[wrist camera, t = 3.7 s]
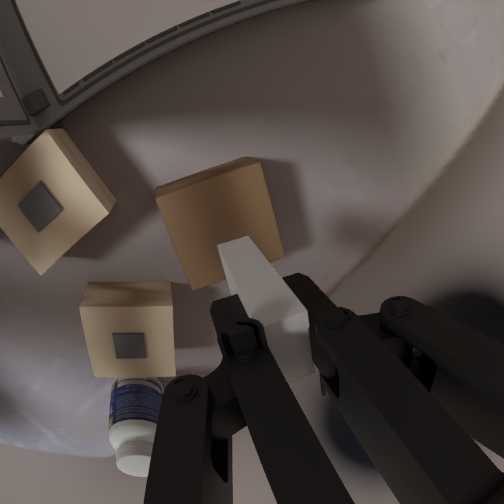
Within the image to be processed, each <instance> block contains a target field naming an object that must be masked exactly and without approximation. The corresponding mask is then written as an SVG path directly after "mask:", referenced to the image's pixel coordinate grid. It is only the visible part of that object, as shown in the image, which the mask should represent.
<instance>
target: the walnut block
mask: <svg viewBox="0 0 504 504" xmlns="http://www.w3.org/2000/svg"><path fill="white" fill-rule="evenodd" d="M155 199H156V202H157V205H158V207H159V210H160V213H161V215H162V218H163V220H164V223H165V226H166V228H167V231H168V233H169V236H170V238H171V241H172V243H173V246H174V248H175V251H176V253H177V256H178V258H179V260H180V263H181V265H182V268H183V270H184V272H185V275H186V277H187V280H188V282H189V284H190V287H191V289H192V291H194V290H197V289H199V288H202V287H205V286H207V285H210V284H213V283H216V282H218V281H221V280H224V279H226V276H225V272H224V268H223V265H222V261H221V258H220V254H219V250H218V247H217V245H219V244H222V243H225V242H229V241H232V240H235V239H239V238H242V237H245V236H249V237H250V239H251V240H252V241H253V242H254V244H255V245H256V246H257V248H258V249H259V250H260V251H261V253H262V254H263V255H264V256H265V258H266V259H267V260H268V261H269V262H271V261H274V260H276V259H279V258H282V257H284V256H285V255H284V251H283V247H282V243H281V239H280V235H279V231H278V228H277V224H276V220H275V216H274V212H273V208H272V204H271V201H270V197H269V193H268V189H267V186H266V182H265V178H264V174H263V171H262V167H261V163H260V162H258V161H256V160H253V159H251V158H248V157H243V158H240V159H237V160H234V161H231V162H227V163H224V164H221V165H218V166H215V167H212V168H210V169H207V170H204V171H201V172H198V173H195V174H192V175H189V176H187V177H184V178H181V179H178V180H176V181H173V182H170V183H168V184H165V185H162V186H160V187H157V188H156V196H155Z"/></svg>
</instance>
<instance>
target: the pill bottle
mask: <svg viewBox="0 0 504 504" xmlns="http://www.w3.org/2000/svg"><path fill="white" fill-rule="evenodd" d="M163 392H164V391H163V386H162V384H161V382H160V381H159V380H158V379H157V378H156V377H143V378H115V379H114V381H113V383H112V389H111V400H110V413H109V432H108V434H109V441H110V443H111V445H112V447H113V448H114V449H115V450H116V463H117V467H118V468H119V469H120V470H121V471H122V472H124V473H127V474H129V475H132V476H139V477H148V472H149V465H150V460H151V454H152V448H153V442H154V437H155V431H156V426H157V421H158V416H159V410H160V405H161V400H162V395H163Z"/></svg>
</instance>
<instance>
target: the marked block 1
mask: <svg viewBox="0 0 504 504" xmlns="http://www.w3.org/2000/svg"><path fill="white" fill-rule="evenodd" d="M116 201H117V200H116V198H115V197H114V196H113V194H112V193H111V192H110V191H109V189H108V188H107V187H106V185H105V184H104V183H103V182H102V180H101V179H100V178H99V176H98V175H97V174H96V172H95V171H94V170H93V168H92V167H91V166H90V164H89V163H88V162H87V160H86V159H85V158H84V156H83V155H82V154H81V152H80V151H79V149H78V148H77V147H76V145H75V144H74V143H73V141H72V140H71V138H70V137H69V136H68V134H67V133H66V131H65V130H64V129H63V128H62V129H46V130H45V131H44V132H43V133H42V134H41V135H40V136H39V137H38V138H37V139H36V140H35V141H34V142H33V143H32V144H31V145H30V146H29V147H28V148H27V149H26V150H25V151H24V152H23V153H22V155H21V156H20V157H19V158H18V159H17V160H16V161H15V162H14V163H13V164H12V166H11V167H10V168H9V169H8V170H7V171H6V172H5V174H4V175H3V176H2V177H1V178H0V227H1V229H2V230H3V231H4V232H5V234H6V235H7V236H8V238H9V239H10V240H11V241H12V243H13V244H14V245H15V246H16V247H17V249H18V250H19V251H20V252H21V253H22V255H23V256H24V257H25V258H26V259H27V261H28V262H29V263H30V264H31V265H32V266H33V268H34V269H35V270H36V271H37V272H38V273H39V274H40V275H42V274H43V273H44V272H45V271H46V270H48V269H49V268H50V267H51V266H52V265H53V264H54V263H55V262H56V261H57V260H58V259H59V258H60V257H61V256H62V255H63V254H64V253H65V252H66V251H67V250H68V249H70V248H71V247H72V246H73V245H74V244H75V243H76V242H77V241H78V240H79V239H80V238H82V237H83V236H84V235H85V234H86V233H87V232H88V231H89V230H91V229H92V228H93V227H94V226H95V225H96V224H97V223H99V222H100V221H101V220H102V219H103V218H104V217H106V216H107V215H108V214H109V213H110V211H111V209H112V208H113V206H114V204H115V203H116Z"/></svg>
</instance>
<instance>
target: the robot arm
mask: <svg viewBox="0 0 504 504" xmlns="http://www.w3.org/2000/svg"><path fill="white" fill-rule="evenodd" d="M217 247H218V250H219V254H220V258H221V261H222V265H223V268H224V272H225V276H226V279H227V283H228V286H229V290H230V293H231V296H229V297H225V298H222V299H219V300H216V301H213V302H212V305H211V308H210V313H211V316H212V320H213V323H214V326H215V329H216V333H217V341H218V344H219V346H220V349H221V352H222V355H223V358H222V361H221V363H220V365H219V366H218V367H217V369H216V370H214V371H213V372H212V373H210V374H209V375H207V376H205V377H204V378H202V377H200V376H197V375H184V376H180V377H178V378H176V379H174V380H172V381H171V382H170V383H169V384H168V385H167V386H166V388H165V390H164V392H163V395H162V400H161V405H160V410H159V416H158V421H157V426H156V431H155V437H154V442H153V448H152V454H151V460H150V465H149V472H148V478H147V484H146V491H145V497H144V504H233V484H232V435H233V434H235V433H236V432H238V431H239V430H241V429H242V428H244V427H246V426H248V429H249V432H250V435H251V437H252V440H253V443H254V445H255V448H256V450H257V453H258V456H259V458H260V461H261V464H262V466H263V469H264V471H265V474H266V477H267V479H268V481H269V484H270V486H271V489H272V492H273V494H274V496H275V499H276V501H277V504H355V503H354V502H353V500H352V498H351V497H350V495H349V493H348V491H347V490H346V488H345V486H344V484H343V483H342V481H341V479H340V477H339V476H338V474H337V472H336V470H335V468H334V467H333V465H332V463H331V461H330V460H329V458H328V456H327V454H326V452H325V451H324V449H323V447H322V445H321V443H320V442H319V440H318V438H317V436H316V435H315V433H314V431H313V429H312V427H311V425H310V424H309V422H308V420H307V418H306V416H305V414H304V413H303V411H302V409H301V407H300V405H299V403H298V402H297V400H296V398H295V396H294V394H293V392H292V390H291V388H290V387H289V385H288V383H289V382H292V381H294V380H297V379H299V378H302V377H305V376H307V375H310V374H312V373H314V372H315V370H314V363H315V365H316V366H317V368H318V369H319V372H320V382H321V392H322V395H323V396H325V395H326V391H325V389H326V390H327V392H328V393H329V395H330V397H331V398H332V400H333V401H334V403H335V405H336V406H337V407H338V409H339V411H340V412H341V414H342V415H343V417H344V419H345V420H346V422H347V423H348V425H349V426H350V428H351V429H352V431H353V432H354V434H355V436H356V437H357V439H358V440H359V442H360V443H361V445H362V446H363V448H364V449H365V451H366V452H367V454H368V455H369V457H370V459H371V460H372V462H373V463H374V465H375V466H376V468H377V469H378V471H379V473H380V474H381V476H382V477H383V479H384V480H385V482H386V483H387V485H388V486H389V488H390V489H391V491H392V492H393V493H394V495H395V497H396V498H397V500H398V501H399V503H400V504H504V473H503V472H501V471H500V470H499V469H498V468H497V467H496V466H495V465H494V463H493V462H492V461H491V460H490V459H489V458H488V456H486V454H485V453H484V452H483V451H482V450H481V448H480V447H479V446H478V445H477V444H476V443H475V442H474V440H473V439H475V440H476V441H478V442H480V443H481V444H482V445H484V446H485V447H487V448H488V449H490V450H492V451H493V452H495V453H496V454H497V455H499V456H501V457H502V458H504V345H502V344H500V343H499V342H497V341H495V340H493V339H491V338H489V337H487V336H485V335H483V334H481V333H479V332H477V331H475V330H474V329H471V328H470V327H468V326H465V325H464V324H462V323H460V322H458V321H456V320H454V319H452V318H450V317H448V316H446V315H444V314H442V313H440V312H438V311H436V310H434V309H432V308H430V307H428V306H426V305H424V304H422V303H420V302H418V301H416V300H414V299H412V298H408V297H404V296H397V297H391V298H389V299H387V300H385V301H384V302H383V303H382V305H381V308H380V312H379V313H374V314H368V315H360V316H358V315H356V314H355V313H354V312H352V311H351V310H349V309H346V308H342V307H336V305H335V304H334V303H333V302H332V301H331V300H330V299H329V298H328V297H327V296H326V295H325V294H324V293H323V292H322V290H320V288H319V287H318V286H317V285H316V284H315V283H314V282H313V281H312V280H311V279H310V278H309V277H308V276H306V275H303V274H301V273H295V274H292V275H289V276H286V277H283V278H281V277H280V275H279V274H278V273H277V272H276V270H275V269H274V268H273V266H272V265H271V264H270V263H269V261H268V260H267V259H266V258H265V256H264V255H263V254H262V253H261V251H260V250H259V249H258V248H257V246H256V245H255V244H254V242H253V241H252V240H251V239H250V237H249V236H245V237H242V238H239V239H235V240H232V241H229V242H225V243H222V244H219V245H217ZM415 349H417V350H419V351H420V352H422V353H418V352H416V351H414V350H415ZM471 437H472V438H473V439H472V438H471Z"/></svg>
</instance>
